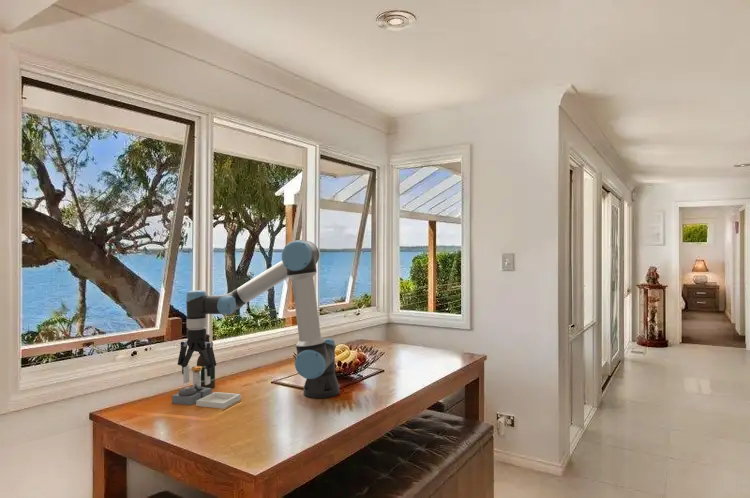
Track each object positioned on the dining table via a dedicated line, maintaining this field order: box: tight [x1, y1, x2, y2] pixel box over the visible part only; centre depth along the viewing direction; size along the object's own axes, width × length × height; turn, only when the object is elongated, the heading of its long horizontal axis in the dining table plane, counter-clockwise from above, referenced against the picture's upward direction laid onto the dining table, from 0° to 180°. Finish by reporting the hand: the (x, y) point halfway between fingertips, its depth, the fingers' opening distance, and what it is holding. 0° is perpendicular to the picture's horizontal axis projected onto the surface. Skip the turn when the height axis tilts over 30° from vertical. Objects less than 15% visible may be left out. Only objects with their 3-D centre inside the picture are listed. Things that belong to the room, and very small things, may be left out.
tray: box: [195, 391, 242, 412], centre depth 191 cm, size 12×12×3 cm
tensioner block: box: [171, 386, 213, 406], centre depth 196 cm, size 13×9×7 cm
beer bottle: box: [196, 333, 216, 389], centre depth 213 cm, size 8×8×24 cm
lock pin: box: [191, 365, 202, 393], centre depth 199 cm, size 4×4×12 cm
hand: (196, 383), depth 199 cm, fingers open, 9 cm apart
